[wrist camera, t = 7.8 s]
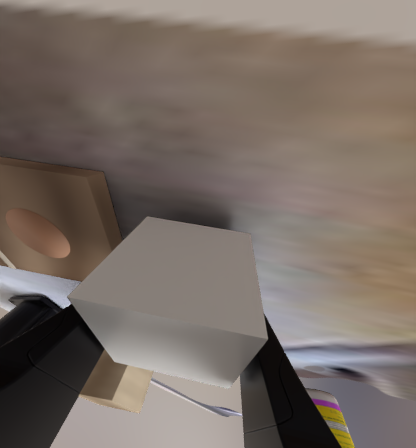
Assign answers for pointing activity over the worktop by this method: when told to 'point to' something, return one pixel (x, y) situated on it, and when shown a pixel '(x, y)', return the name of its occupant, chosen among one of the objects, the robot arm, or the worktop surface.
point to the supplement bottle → (332, 416)
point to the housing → (177, 301)
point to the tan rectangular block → (117, 385)
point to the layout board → (55, 219)
